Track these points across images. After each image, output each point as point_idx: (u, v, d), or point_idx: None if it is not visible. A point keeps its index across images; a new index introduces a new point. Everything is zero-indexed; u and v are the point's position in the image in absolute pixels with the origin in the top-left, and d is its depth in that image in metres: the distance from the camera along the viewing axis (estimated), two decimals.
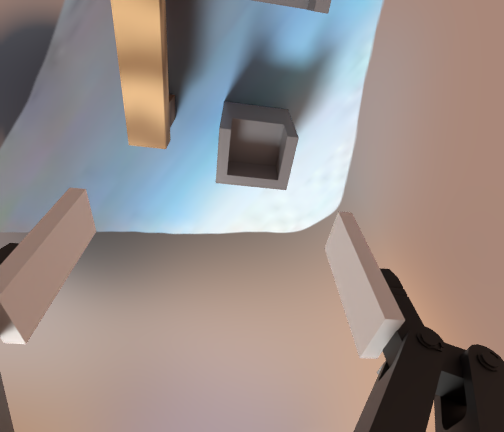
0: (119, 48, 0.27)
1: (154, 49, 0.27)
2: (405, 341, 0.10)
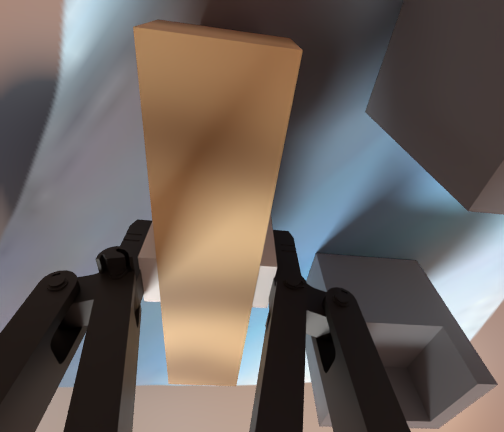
0: (164, 277, 0.12)
1: (241, 276, 0.12)
2: (275, 291, 0.11)
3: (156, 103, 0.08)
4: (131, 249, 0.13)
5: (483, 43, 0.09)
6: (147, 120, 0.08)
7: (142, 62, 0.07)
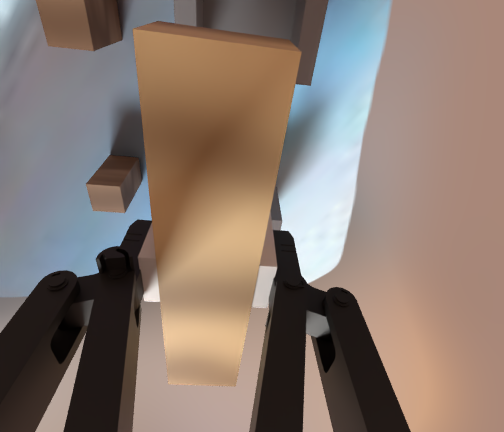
0: (163, 277, 0.12)
1: (241, 276, 0.12)
2: (275, 291, 0.11)
3: (155, 104, 0.08)
4: (131, 249, 0.13)
5: None
6: (146, 121, 0.08)
7: (141, 64, 0.07)
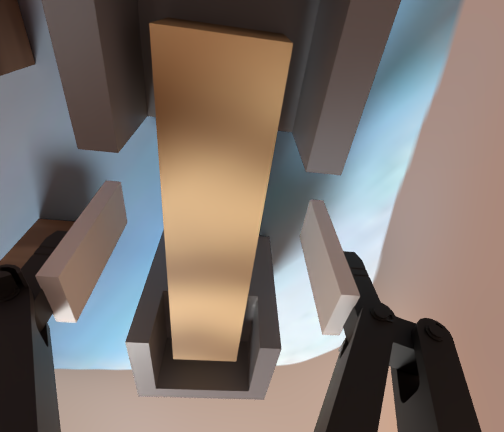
0: (170, 251, 0.13)
1: (241, 250, 0.13)
2: (360, 318, 0.11)
3: (167, 89, 0.09)
4: (39, 265, 0.11)
5: None
6: (158, 104, 0.09)
7: (156, 53, 0.08)
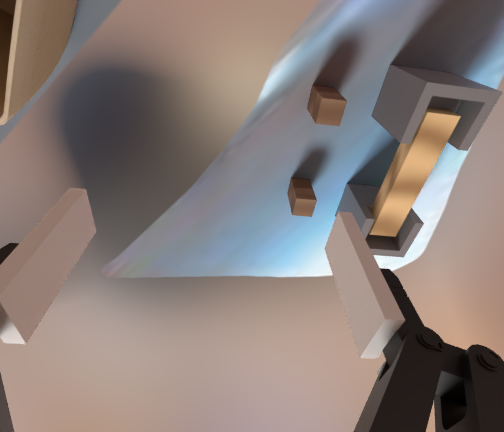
0: (397, 179, 0.38)
1: (421, 179, 0.38)
2: (405, 341, 0.10)
3: (424, 127, 0.34)
4: None
5: (404, 98, 0.34)
6: (419, 131, 0.34)
7: (425, 118, 0.33)
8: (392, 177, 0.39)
